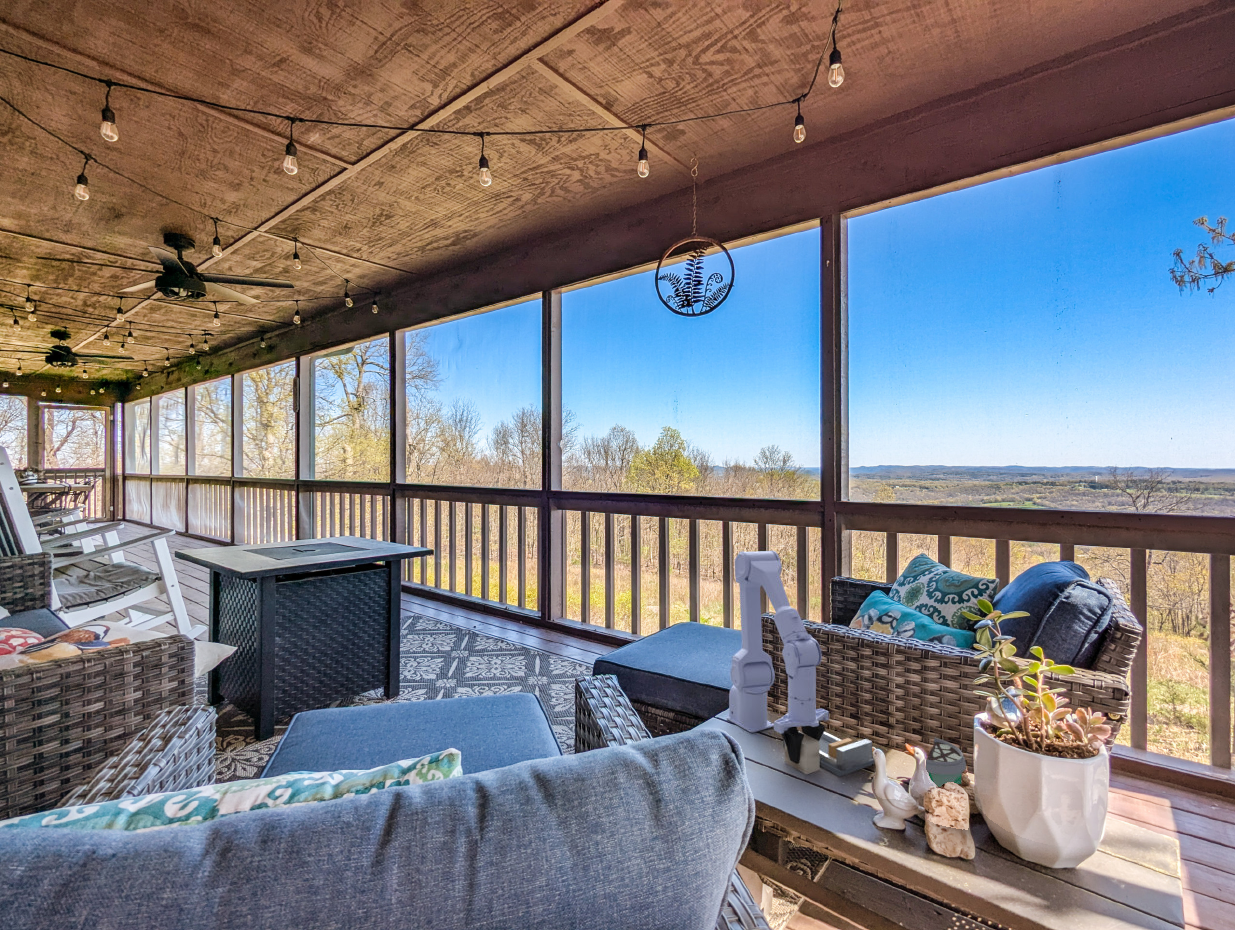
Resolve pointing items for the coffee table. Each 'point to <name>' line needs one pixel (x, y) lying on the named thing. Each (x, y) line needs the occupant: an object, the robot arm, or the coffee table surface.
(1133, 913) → the coffee table surface
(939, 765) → the food container
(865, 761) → the rail board
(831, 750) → the block
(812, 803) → the coffee table surface
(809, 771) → the birch block
